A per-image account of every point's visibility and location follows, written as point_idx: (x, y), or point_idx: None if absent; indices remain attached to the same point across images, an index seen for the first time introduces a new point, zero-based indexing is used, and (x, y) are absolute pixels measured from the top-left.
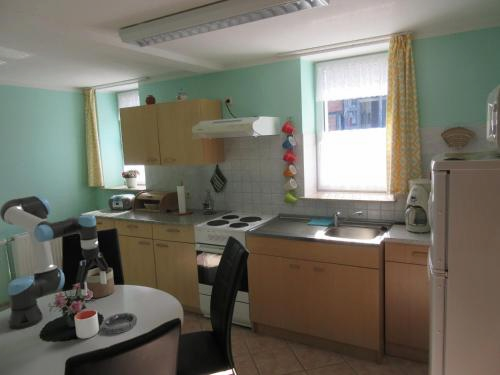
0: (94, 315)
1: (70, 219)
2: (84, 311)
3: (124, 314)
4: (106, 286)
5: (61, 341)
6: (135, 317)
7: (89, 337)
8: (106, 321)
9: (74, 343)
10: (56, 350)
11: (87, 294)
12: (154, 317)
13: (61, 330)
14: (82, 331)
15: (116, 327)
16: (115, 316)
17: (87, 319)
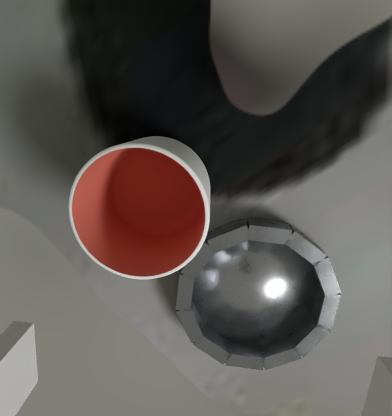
0: (138, 277)
1: None
2: (186, 169)
3: (324, 292)
4: None
5: (76, 94)
6: (290, 358)
7: (128, 217)
8: (246, 240)
9: None
10: (9, 128)
11: (31, 386)
12: (331, 395)
13: (171, 5)
14: (99, 206)
15: (190, 321)
16: (302, 256)
17: (92, 258)
